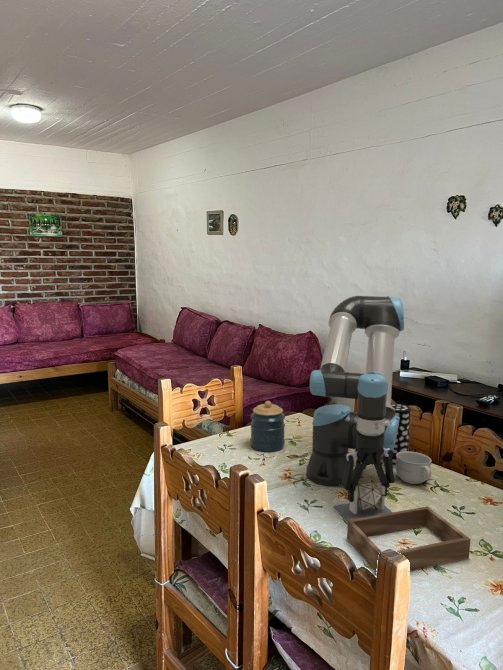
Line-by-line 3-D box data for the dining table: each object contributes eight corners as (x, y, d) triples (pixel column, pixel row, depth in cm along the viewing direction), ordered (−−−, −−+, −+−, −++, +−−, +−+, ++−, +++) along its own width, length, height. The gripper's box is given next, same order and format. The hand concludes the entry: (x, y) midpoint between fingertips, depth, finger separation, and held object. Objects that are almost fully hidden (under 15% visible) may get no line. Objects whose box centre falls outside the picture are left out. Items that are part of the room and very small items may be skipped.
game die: (371, 524, 136) (385, 509, 129) (343, 511, 137) (355, 495, 130) (377, 497, 142) (391, 481, 135) (349, 485, 143) (362, 468, 136)
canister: (246, 450, 181) (247, 404, 178) (254, 438, 193) (254, 395, 190) (281, 454, 178) (282, 407, 175) (287, 441, 190) (287, 397, 188)
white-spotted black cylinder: (381, 464, 169) (384, 409, 166) (384, 455, 177) (387, 402, 174) (406, 468, 166) (410, 412, 163) (408, 459, 174) (411, 405, 171)
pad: (334, 507, 140) (334, 505, 140) (376, 500, 145) (376, 498, 144) (354, 529, 129) (355, 527, 129) (400, 521, 133) (400, 519, 133)
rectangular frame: (346, 538, 125) (347, 520, 124) (426, 523, 132) (427, 506, 131) (381, 577, 110) (382, 557, 109) (468, 558, 117) (470, 539, 116)
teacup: (389, 473, 163) (391, 450, 162) (421, 472, 164) (422, 449, 162) (406, 493, 149) (408, 468, 148) (440, 492, 150) (442, 467, 149)
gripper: (342, 440, 126) (339, 522, 130) (411, 432, 132) (406, 510, 136) (329, 430, 133) (327, 508, 137) (395, 423, 140) (391, 497, 143)
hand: (366, 509), depth 137 cm, fingers closed on game die, 8 cm apart
